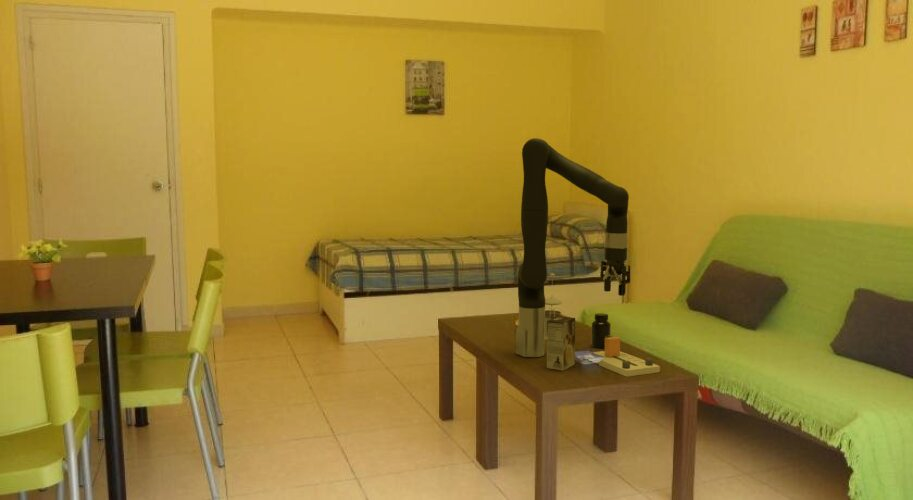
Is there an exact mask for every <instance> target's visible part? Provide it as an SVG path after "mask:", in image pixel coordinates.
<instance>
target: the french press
mask: <svg viewBox="0 0 913 500" xmlns="http://www.w3.org/2000/svg"><path fill="white" fill-rule="evenodd" d="M549 276H550V277H551V284H553V283H554V281H553V279H554V277H555V273H553V272H550V273H549ZM561 304H563V301H562V300H561V299H558V298H557V297H553V296H551V297H546V298H545V306H546V305H548V306H558V305H561ZM555 309H556V308H555V307H553V309H551V308H549V310H546V309H545V340H547V321H548V320H551V319H553V318H555V317H558V316H561V317H563V316H562V315H561V314H562V311H559V310H555Z"/></svg>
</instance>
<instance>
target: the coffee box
mask: <svg viewBox="0 0 913 500" xmlns="http://www.w3.org/2000/svg"><path fill="white" fill-rule="evenodd" d="M561 316H562V315H561ZM561 316H558V317H555V318H553V319H551V320H548V321H547V339H546V368H547V369H548V370H549V369H550V370H558V371H561V372H563V371H565V370H568V369H570V368H571V367H572V366H574V365H576V364H575V363H576V358H575V357H576V317H571V316H570V317H569V316H562V317H561Z"/></svg>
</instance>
